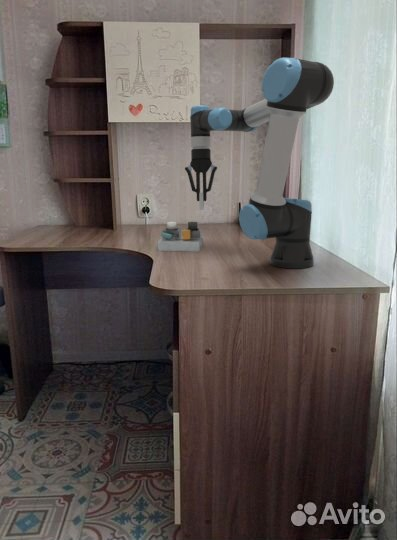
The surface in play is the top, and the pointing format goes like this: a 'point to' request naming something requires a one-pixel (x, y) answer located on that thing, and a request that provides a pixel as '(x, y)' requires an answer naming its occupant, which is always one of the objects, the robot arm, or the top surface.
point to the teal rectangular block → (166, 235)
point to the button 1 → (172, 225)
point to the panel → (181, 241)
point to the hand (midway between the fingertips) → (201, 209)
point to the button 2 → (192, 225)
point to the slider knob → (186, 234)
